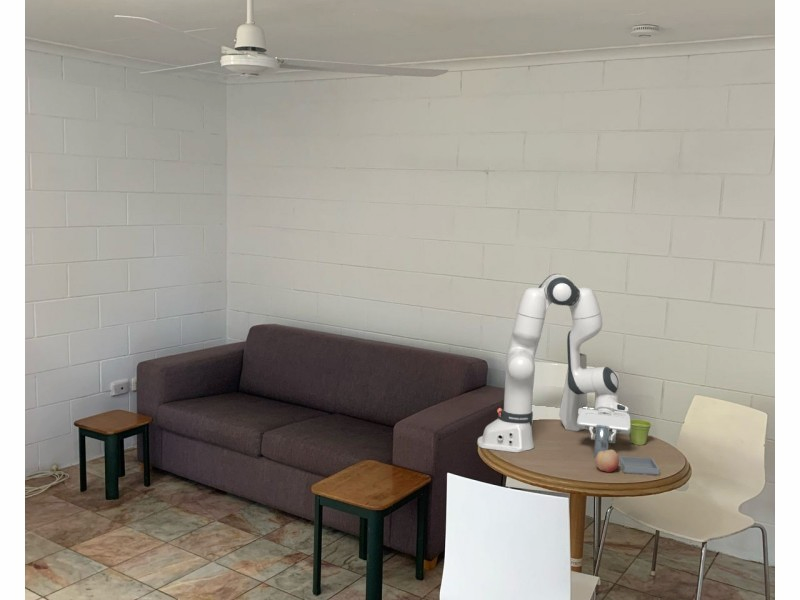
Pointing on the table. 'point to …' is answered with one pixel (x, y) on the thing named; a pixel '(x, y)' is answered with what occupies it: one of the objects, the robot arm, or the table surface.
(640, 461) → the tray
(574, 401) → the vase
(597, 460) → the fruit
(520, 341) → the robot arm
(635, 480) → the table surface
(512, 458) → the table surface
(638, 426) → the plant pot
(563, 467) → the table surface
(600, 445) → the canister
